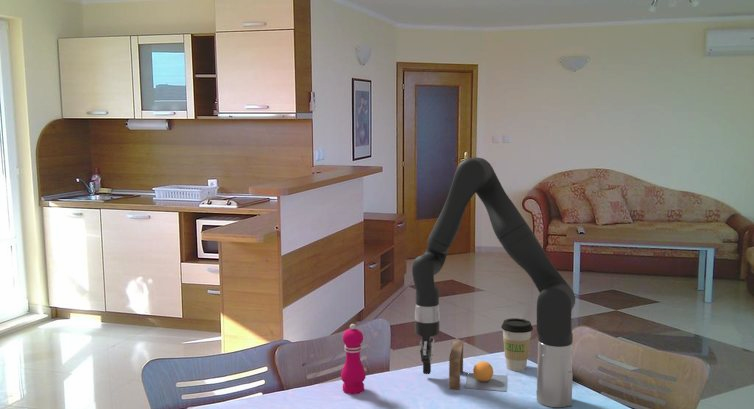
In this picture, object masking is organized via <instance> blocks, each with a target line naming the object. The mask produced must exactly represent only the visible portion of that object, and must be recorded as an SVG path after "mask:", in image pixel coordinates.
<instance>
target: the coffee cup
mask: <svg viewBox="0 0 754 409" xmlns="http://www.w3.org/2000/svg"><path fill="white" fill-rule="evenodd" d="M501 329H502V341H503V351H504V358H505V364H506V365H505V367H506V369H507V370H508V371H509V370H510V371H513V372H522V371H525V370H526V369H527V365H528V364H527V363H528V359H529V352H530V347H531V340H532V337H531V336H532V331H533V325H532V323H531V321H530V320H527V319H524V318H518V317H517V318H513V317H512V318H507V319H504V320H503V322H502V324H501Z"/></svg>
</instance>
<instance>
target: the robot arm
mask: <svg viewBox="0 0 754 409" xmlns="http://www.w3.org/2000/svg"><path fill="white" fill-rule="evenodd" d="M454 172H455V173H454V175H453V179H452V182H451V186H450V189H449V191H448V195H447V198H446V199H445V202H444V205H443V207H442V210H441V212H440V213H439V216H438V218H437V220H436V222H435V223H434V226H433V227H432V229H431V231H430V233H429V235H428V238H427V248H426V250H425V252H424V253H423V254H421V255H419V256H417V257H415V259H414V260H413V262H412V267H411V273H412V279H413V285H414V289H415V307H414V333H415V334H416V335H417V336H420V337H421V339H420V340H419V347H420V350H419V352H420V353H419V354H420V359H421V363H422V374H425V375H430V374H431V372H432V359H433V358H432V357H433V353H434V344H435V338H434V337H436V336H438V335H439V334H440V327H441V326H440V324H441V323H440V322H441V321H440V316H441V314H440V313H441V312H440V292H439V291H440V290H439V287H438V286H437V285H436V284H435V279H434V278H435V277H434V276H435V275H437V274H438V273H439V272H440V271H441V270H442V269H443V266H444V264H445V262H446V259H447V255H448V252H449V250H450V247H451V246H452V244H453V242H454V240H455V238H456V236H457V235H458V232H459V230H460V227H461V224H462V220H463V217H464V213H465V210H466V209H467V206H468V204H469V202H470V200H472V198H473V196H474V195H475V194H476V195H477V197H478V198H479V199H480V201H481V202H482V203H483V205H484V207H485V209H486V212H487V215H488V218H489V221H490V224H491V227H492V229H493V233H494V234H495V236H496V238H497V240H498V241H499V243H500V244H501V246H502V248H503V249H504V250H505V252H506V253H507V255H508V256H509V257H510V258H511V259H512V260H513V261H514V262H515V263H516V264H517V265H518V266H519V267H520V268H522V269H523V270H524V271H525V273H526V274H527V275H528V276H529V277H530V278H531V280H532V282H533V284H534V286H535V287H536V289H537V290H538V292H539V294H538V295H537V296H538V297H537V299H536V331H537V364H536V365H537V368H536V369H537V371H536V374H537V375H536V401H537V402H538V403H539V404H541V405H542V406H546V407H551V408H564V407H572V405H573V404H572V403H573V401H572V400H573V369H572V368H573V367H572V366H573V340H574V339H573V338H574V335H573V331H572V310H573V308H574V306H575V305H576V296H575V293H574V291H573V289H572V287H571V286H570V285H569V284H568V283H567V281H566V280H565V278H564V277H563V276H562V275H561V273H560V272H559V271H558V270H557V269H556V267H555V266H554V264H553V263H552V262H551V260H550V258H549V257H548V255H547V254H546V251H545V249H544V247H543V246H542V245H541V244H540V242H539V240H538V238H537V237H536V235H535V234H534V232H533V231H532V229H531V227H530V226H529V224H528V223H527V221H526V219H525V218H524V217H523V215H522V214H521V213H520V211H519V210H518V208H517V207H516V205H515V204H514V203H513V201H512V200H511V198H510V197H509V195H508V194H507V193H506V191H505V189H504V187H503V186H502V184H501V182H500V180H499V178H498V176H497V173H496V172H495V170H494V168H493V166H492V164H491V163H490V162H489V161H487V160H486V159H485V158H483V157H470V158H466V159H463V160H462V161H460V163H459V164H458V165H457V167H456V170H455V171H454Z"/></svg>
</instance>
